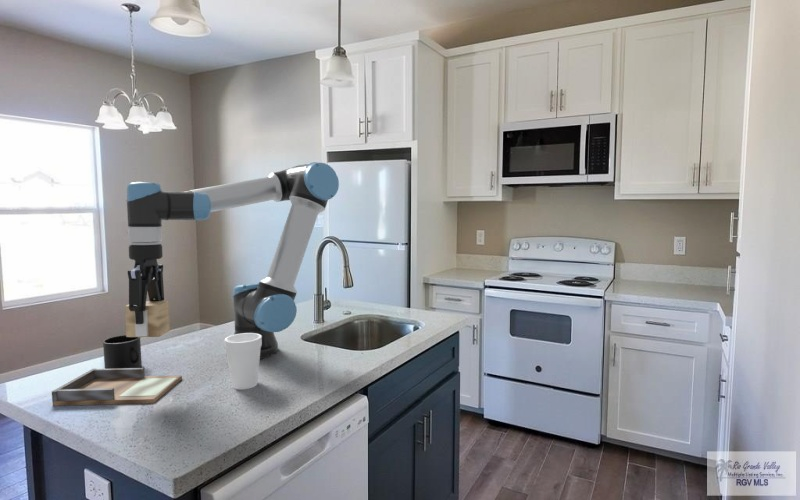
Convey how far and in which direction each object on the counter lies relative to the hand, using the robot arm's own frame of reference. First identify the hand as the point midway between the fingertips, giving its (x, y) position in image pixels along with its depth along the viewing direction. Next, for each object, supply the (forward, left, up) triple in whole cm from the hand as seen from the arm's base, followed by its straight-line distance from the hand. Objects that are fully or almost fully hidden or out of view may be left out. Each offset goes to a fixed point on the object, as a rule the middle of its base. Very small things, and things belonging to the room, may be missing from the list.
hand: (148, 332), depth 119 cm
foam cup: (-23, -2, -16) cm, 28 cm away
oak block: (0, 0, 0) cm, 0 cm away
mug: (+16, -17, -16) cm, 28 cm away
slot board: (+8, 0, -15) cm, 17 cm away
